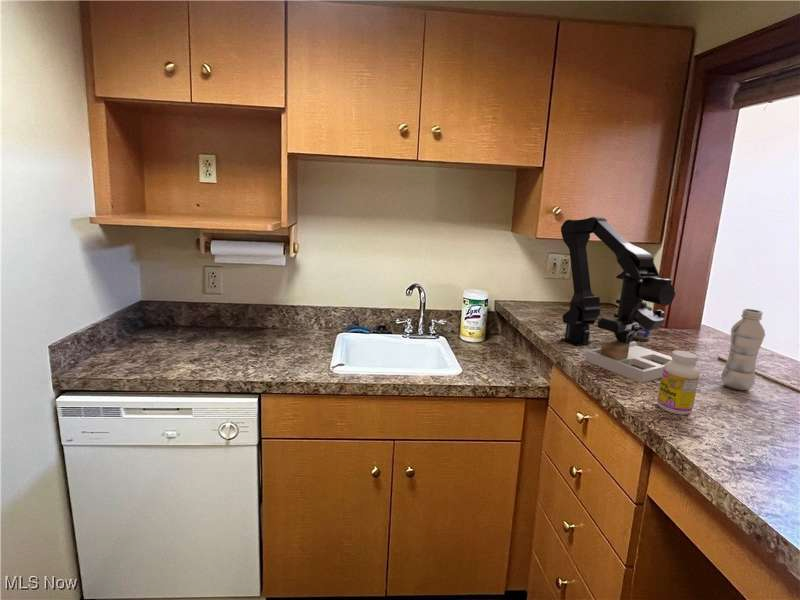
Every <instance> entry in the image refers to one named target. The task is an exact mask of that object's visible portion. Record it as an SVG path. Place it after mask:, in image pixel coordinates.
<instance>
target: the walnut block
mask: <svg viewBox="0 0 800 600" xmlns="http://www.w3.org/2000/svg"><path fill="white" fill-rule="evenodd" d="M629 346H630V345H629V344H626V343H623V342H620V341H617V339H608V340H604V341H601V346H600V348H601V353H600V355H603V356H606V357H609V358H611V359H614V360H617V361H618V360H622V359H627V358H628V352H629Z"/></svg>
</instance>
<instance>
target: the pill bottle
mask: <svg viewBox="0 0 800 600" xmlns="http://www.w3.org/2000/svg"><path fill="white" fill-rule="evenodd" d="M646 309H648V310H650V311H651V310H652V311H653V308H652V307H651V306H648V305H647V307H646ZM638 325H639V327H640V328H643V330H642V331H640V332H638V333H636V334H635V335H634V337H633V339H632V340H634V341H639V342H648V341H650V338H651V337H650V336H651V331H652V330H651V331H649V330H646V329H645V328H644V327H643V326H641V325H640V324H638Z"/></svg>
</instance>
